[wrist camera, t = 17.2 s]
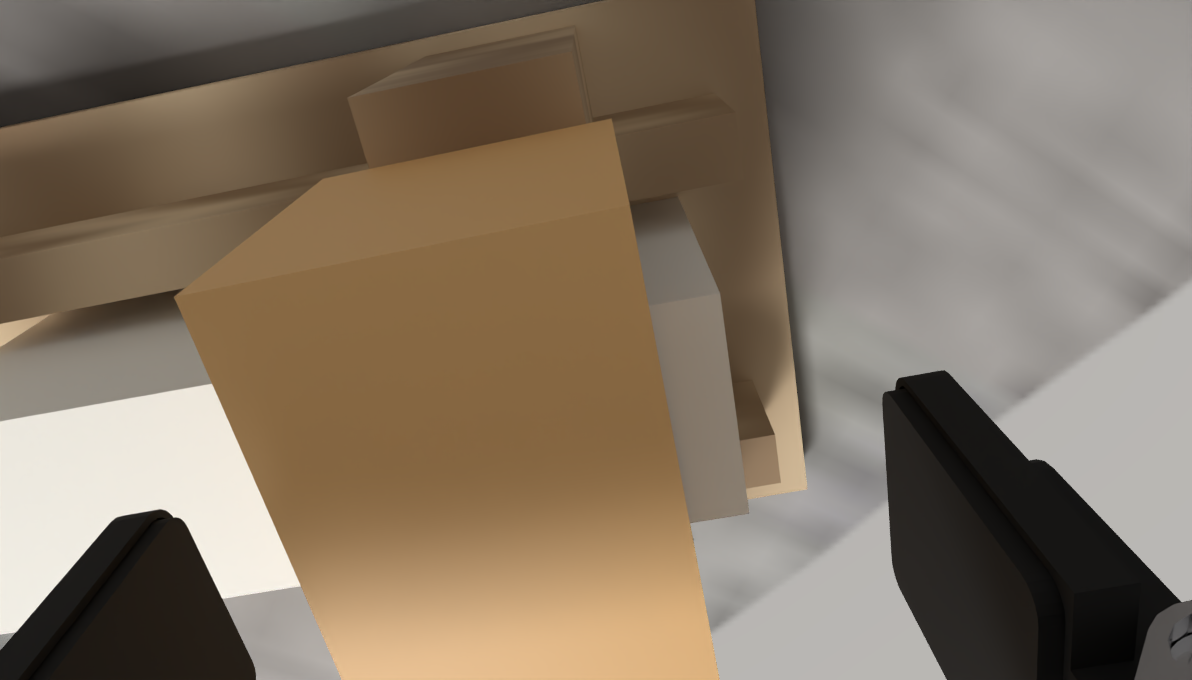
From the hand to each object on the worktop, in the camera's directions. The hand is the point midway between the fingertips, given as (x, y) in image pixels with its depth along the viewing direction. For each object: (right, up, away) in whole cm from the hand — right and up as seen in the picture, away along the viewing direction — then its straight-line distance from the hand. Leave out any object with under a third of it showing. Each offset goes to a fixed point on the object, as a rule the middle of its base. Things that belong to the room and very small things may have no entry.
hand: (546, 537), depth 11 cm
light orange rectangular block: (0, +1, +2) cm, 2 cm away
